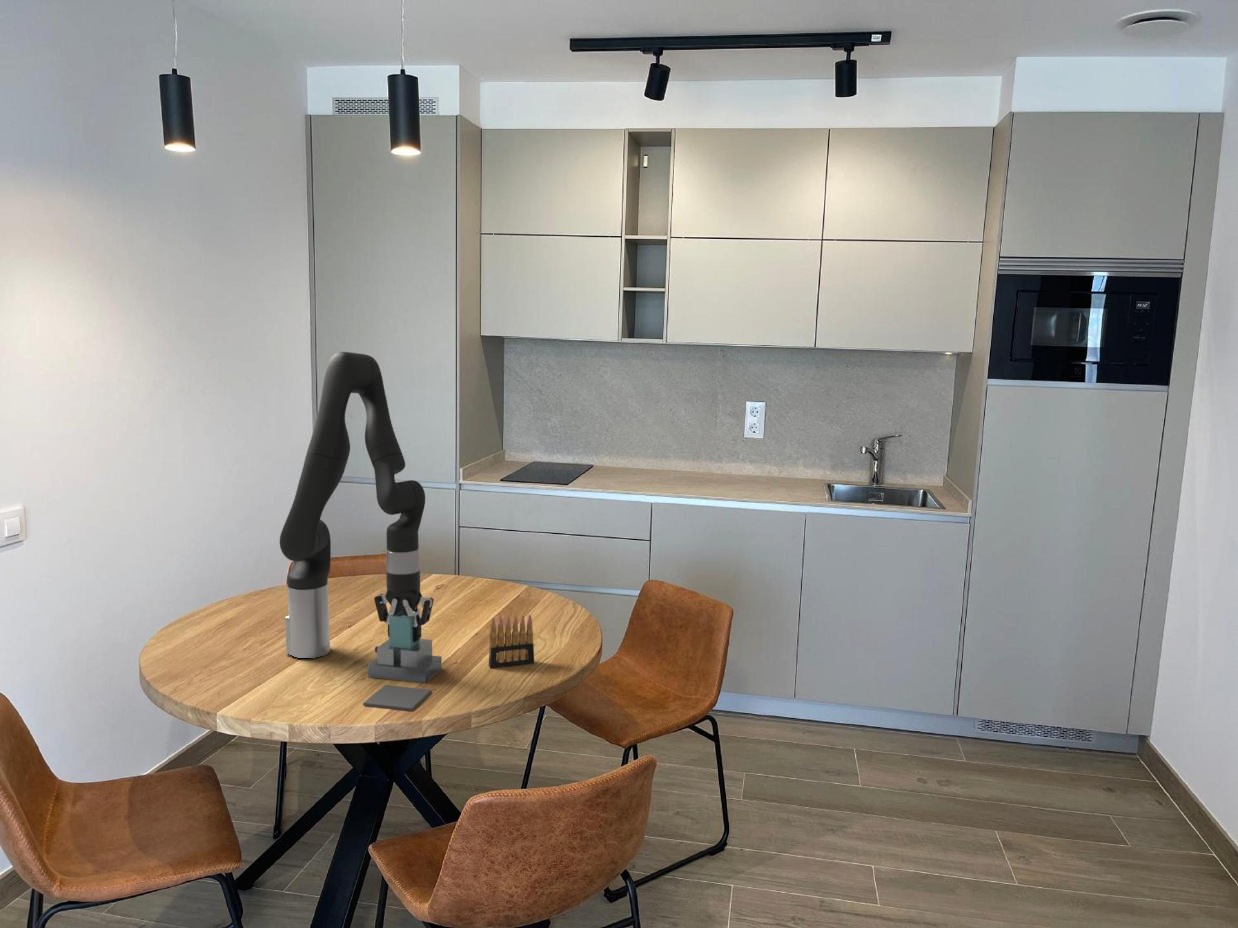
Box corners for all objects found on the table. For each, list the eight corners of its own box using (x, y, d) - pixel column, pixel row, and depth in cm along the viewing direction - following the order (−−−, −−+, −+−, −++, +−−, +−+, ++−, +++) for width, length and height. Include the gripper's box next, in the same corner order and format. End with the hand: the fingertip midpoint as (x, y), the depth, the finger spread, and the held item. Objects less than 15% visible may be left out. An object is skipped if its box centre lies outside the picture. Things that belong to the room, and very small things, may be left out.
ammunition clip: (532, 660, 215) (532, 612, 213) (534, 663, 213) (534, 615, 211) (488, 665, 211) (488, 617, 209) (490, 668, 209) (489, 619, 208)
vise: (367, 676, 203) (365, 619, 201) (385, 662, 212) (384, 608, 210) (425, 682, 200) (424, 625, 198) (441, 668, 209) (440, 612, 207)
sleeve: (389, 646, 203) (389, 616, 202) (399, 639, 208) (399, 610, 207) (410, 648, 202) (409, 618, 201) (419, 641, 207) (419, 611, 206)
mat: (363, 705, 188) (363, 702, 188) (385, 687, 197) (385, 684, 197) (411, 710, 185) (411, 708, 185) (431, 692, 195) (431, 689, 195)
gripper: (439, 566, 205) (440, 637, 207) (381, 562, 208) (383, 632, 210) (425, 574, 197) (426, 648, 200) (366, 570, 200) (368, 643, 203)
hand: (404, 639), depth 205 cm, fingers closed on sleeve, 5 cm apart
